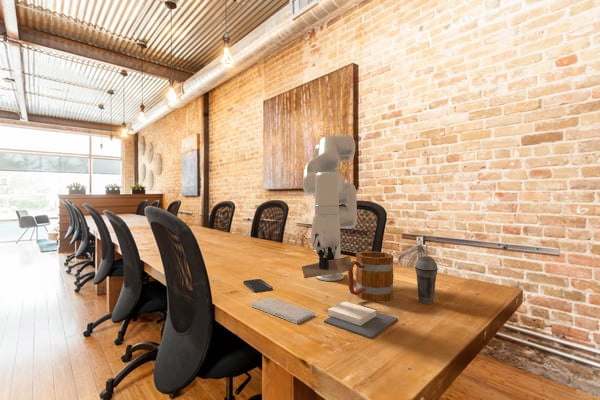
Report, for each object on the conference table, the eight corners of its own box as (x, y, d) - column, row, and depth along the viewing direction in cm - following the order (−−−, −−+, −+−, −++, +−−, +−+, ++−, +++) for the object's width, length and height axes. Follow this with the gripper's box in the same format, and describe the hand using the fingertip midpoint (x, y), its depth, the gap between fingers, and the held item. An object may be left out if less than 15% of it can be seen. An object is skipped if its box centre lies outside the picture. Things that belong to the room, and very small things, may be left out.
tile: (344, 301, 96) (376, 310, 88) (344, 307, 96) (376, 316, 88) (327, 309, 89) (360, 319, 82) (327, 315, 89) (360, 326, 82)
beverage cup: (436, 299, 105) (436, 242, 105) (438, 306, 98) (439, 245, 98) (414, 297, 107) (414, 241, 107) (415, 304, 100) (415, 244, 100)
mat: (353, 307, 98) (353, 305, 98) (397, 319, 88) (397, 317, 88) (323, 322, 86) (323, 320, 86) (371, 338, 76) (371, 336, 76)
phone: (260, 278, 129) (273, 287, 115) (260, 281, 129) (273, 290, 115) (242, 280, 125) (253, 290, 112) (242, 283, 125) (253, 293, 112)
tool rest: (269, 300, 104) (269, 296, 104) (314, 315, 90) (314, 311, 90) (251, 306, 98) (251, 303, 98) (296, 324, 84) (296, 319, 84)
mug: (372, 287, 118) (372, 250, 118) (401, 297, 107) (401, 255, 107) (335, 297, 107) (335, 255, 107) (364, 309, 96) (364, 262, 96)
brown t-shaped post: (312, 275, 104) (310, 264, 104) (353, 268, 93) (349, 255, 94) (300, 279, 99) (297, 267, 100) (341, 273, 88) (338, 259, 89)
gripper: (332, 208, 103) (331, 261, 104) (301, 212, 91) (301, 271, 92) (350, 210, 98) (350, 265, 99) (320, 213, 86) (320, 276, 87)
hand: (326, 267), depth 96 cm, fingers closed on brown t-shaped post, 2 cm apart
